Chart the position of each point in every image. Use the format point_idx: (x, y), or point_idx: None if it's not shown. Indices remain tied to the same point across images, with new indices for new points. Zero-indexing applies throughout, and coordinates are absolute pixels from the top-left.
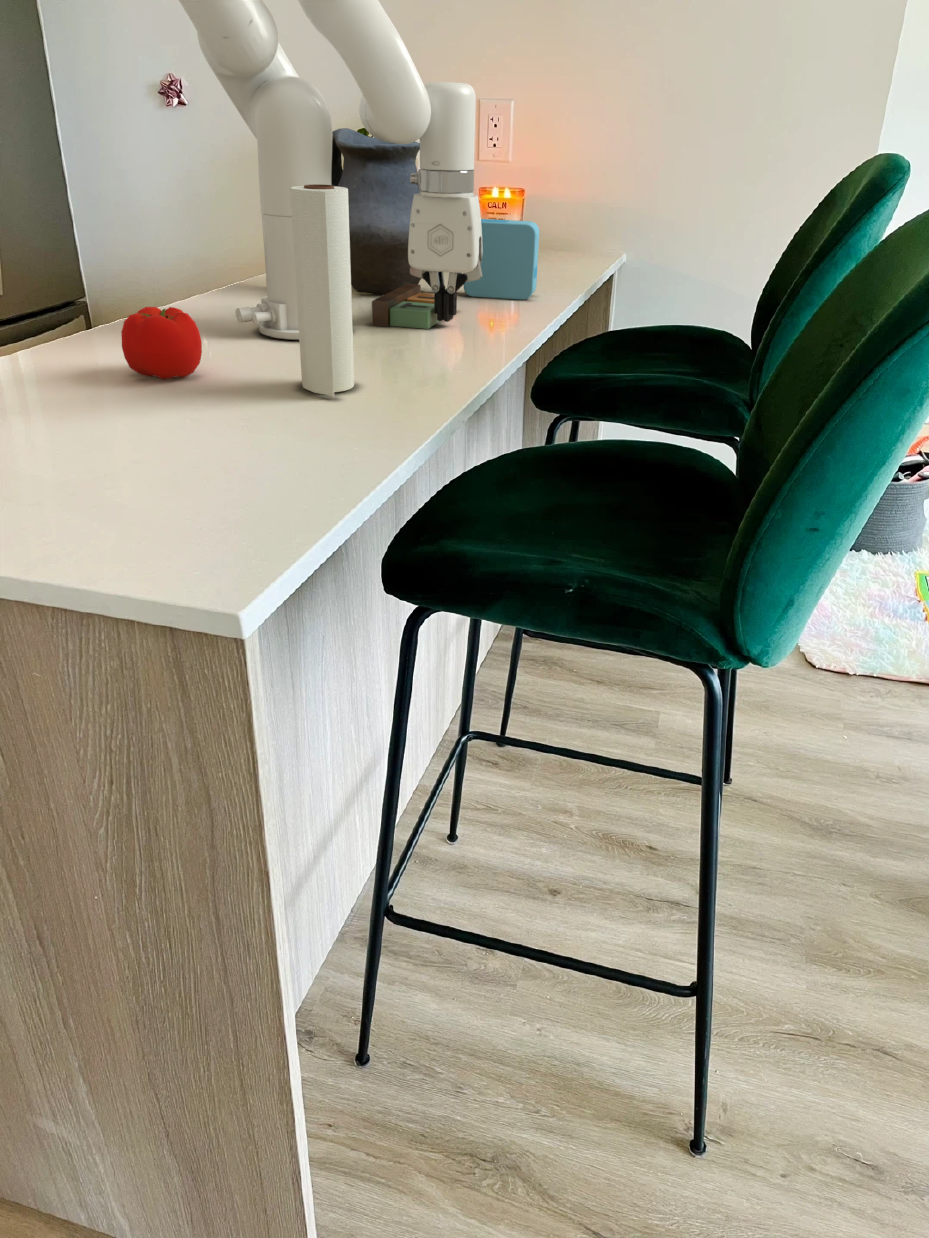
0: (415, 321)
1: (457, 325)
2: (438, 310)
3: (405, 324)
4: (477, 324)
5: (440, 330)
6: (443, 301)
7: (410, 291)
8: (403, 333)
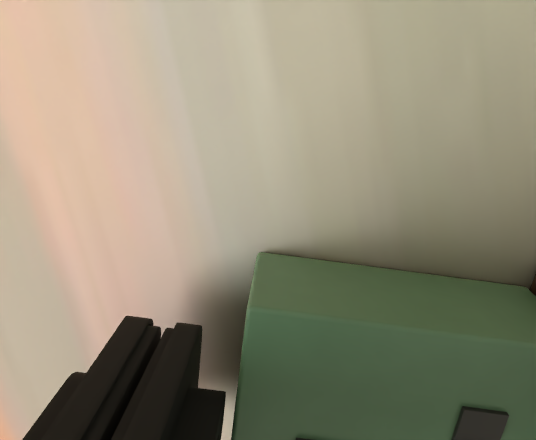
0: (351, 280)
1: None
2: (175, 365)
3: (420, 277)
4: (20, 434)
5: (176, 244)
6: (106, 420)
7: None
8: (408, 87)
